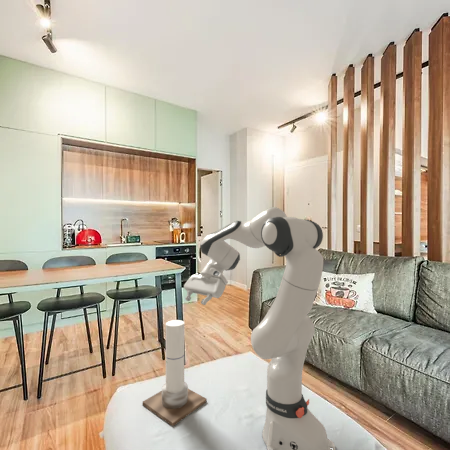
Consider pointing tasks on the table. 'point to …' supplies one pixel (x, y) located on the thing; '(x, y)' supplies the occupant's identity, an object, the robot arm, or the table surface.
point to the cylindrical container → (174, 356)
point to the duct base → (174, 412)
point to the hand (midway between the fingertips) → (194, 302)
